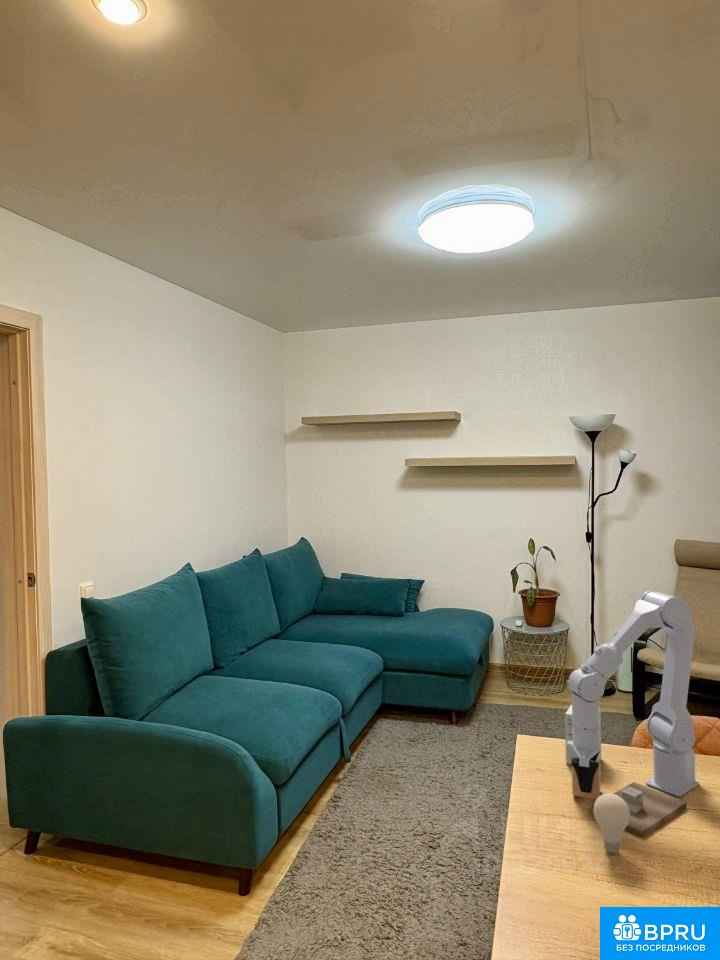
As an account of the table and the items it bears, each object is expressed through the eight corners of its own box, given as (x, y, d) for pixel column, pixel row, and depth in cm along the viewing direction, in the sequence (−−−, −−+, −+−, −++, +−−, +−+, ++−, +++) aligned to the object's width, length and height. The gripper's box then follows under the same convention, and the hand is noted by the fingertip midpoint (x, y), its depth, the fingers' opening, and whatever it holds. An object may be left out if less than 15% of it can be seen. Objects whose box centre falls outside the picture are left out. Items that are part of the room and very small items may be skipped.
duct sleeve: (574, 784, 153) (574, 758, 153) (600, 787, 151) (600, 761, 151) (572, 795, 148) (572, 768, 148) (599, 799, 146) (599, 772, 146)
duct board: (633, 787, 153) (633, 766, 152) (686, 807, 143) (686, 785, 143) (588, 813, 141) (587, 791, 141) (642, 837, 132) (641, 814, 132)
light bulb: (633, 864, 123) (633, 805, 123) (596, 860, 125) (595, 802, 124) (627, 844, 130) (626, 788, 130) (591, 841, 131) (590, 785, 131)
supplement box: (571, 752, 171) (571, 703, 171) (602, 758, 167) (601, 708, 167) (564, 764, 165) (564, 713, 165) (596, 770, 161) (595, 718, 161)
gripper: (569, 711, 158) (570, 768, 158) (564, 734, 144) (565, 797, 144) (601, 715, 155) (602, 773, 155) (598, 739, 142) (599, 802, 142)
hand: (586, 785), depth 150 cm, fingers closed on duct sleeve, 6 cm apart
